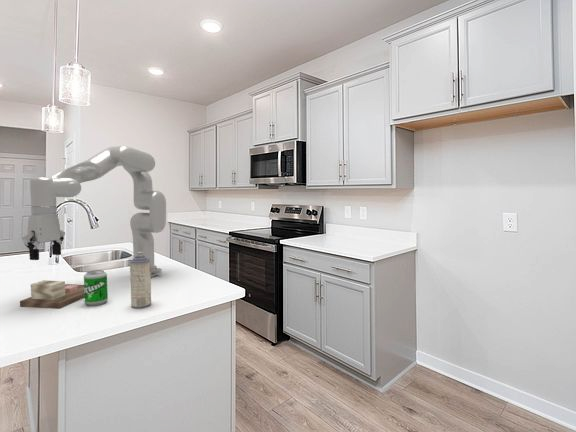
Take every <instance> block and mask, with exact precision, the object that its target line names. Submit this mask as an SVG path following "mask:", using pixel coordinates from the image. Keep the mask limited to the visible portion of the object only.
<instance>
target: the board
mask: <svg viewBox="0 0 576 432" xmlns="http://www.w3.org/2000/svg"><path fill="white" fill-rule="evenodd" d="M68 285H75V286H78V289H77V290H74V291H72V292H65V295H66V297H64V298H61V299H59V300H56V301H34V300H31V296H30V297H28V298H24V299H22V300H20V301H19V306H20V307H22V308H23V307H24V308H25V307H26V308H43V309H63V308H64V307H67V306H69V305H72V304H73V303H75V302H78V301H79V300H83V299H85V293H84V284H77V283H76V284H73V283H67V284H66V283H65V286H68Z"/></svg>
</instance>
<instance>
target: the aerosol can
mask: <svg viewBox="0 0 576 432" xmlns="http://www.w3.org/2000/svg"><path fill="white" fill-rule="evenodd" d="M129 270H130V271H129V273H130V274H129V275H130V277H129V278H130V301H131V302H130V307H131V309H136V310H137V309H145V308H149V307H150V306H151V305H152V283H151V282H152V279H151V278H152V277H151V276H150V260H149V259H147V257H145V256H144V255H143V254H142V252H137V255H136V256H135V257H134V256H133V258H132V259H131V260H130V262H129Z"/></svg>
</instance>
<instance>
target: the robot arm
mask: <svg viewBox="0 0 576 432" xmlns="http://www.w3.org/2000/svg"><path fill="white" fill-rule="evenodd" d="M121 166H122V168H123V169H124V170H125V171H126V172H127V173H128V174H129V175H130V177H131V178H132V182H133V183H132V184H133V206H134V207H135V208H136V209H138V210H142V211H143V210H144V211H149V212H137V213H135V214H133V215H132V216H131V217H130V219H129V222H130V224H129V225H130V230H131V234H132V248H133V250H132V253H133V258H134V257H135V256H136V255H137V252H142V254H143V255H144V256H145V257H147V259H149V260H150V276H151V278H153V277H157V276H158V275H159V274H161V273H162V268H157V267H158V266H157V265H155V239H154V235H153V234H157V233H161V232H163V231H164V229H165V227H166V224H167V199H166V197H165V195H164V193H162V192H161V191H160V190H159V191H158V190H153V189H154V188H153V180H152V176H151V174H150V172H152V171H153V170H154V168H155V166H156V161H155V158H154V157H153V156H152V155H151V154H150V153H148V152H144V151H142V150H140V149H136V148H133V147H131V146H126V145H122V146H121V145H120V146H117V145H116V146H110V147H107V148H105V149H103V150H101V151H100V152H97V153H96V154H95V155H93V156H91V157H89V158H88V159H87V160H84V161H81V162H79V163H77V164H75V165H72V166H70V167H67V168H65V169H62V170H61V171H58V172H57V173H56V174H54V175H52V176H51V177H45V176H43V177H42V176H41V177H39V176H35V177H31V178H30V180H29V191H30V192H29V193H30V213H31V215H29V217H28V219H27V220H28V221H27V228H26V229H27V232H26V235H25V236H23V237H21V240H22V242H23V243H24V246H26V247H27V249H28V250H29V251H28V252H29V254H28V255H29V260H30V261H38V260H40V249H39V246H40V245H41V244H43V243H48V242H52V243H51V244H52V245H51V250H52V251H51V253H52V255H53V256H61V255H62V244H63V241H64V240H65V234H66V232H65V231H64V230H61V223H60V219H59V216H58V213H57V212H58V208H57V198H74V197H76V196H78V195H79V194H81V192H82V183H86V182H91V181H95V180H98V179H101V178H102V177H104V176H105V175H106V174H108V173H110V171H113V170H114V169H116V168H117V167H121Z"/></svg>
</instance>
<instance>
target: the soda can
mask: <svg viewBox="0 0 576 432" xmlns="http://www.w3.org/2000/svg"><path fill="white" fill-rule="evenodd" d="M83 285H84V293H85V298H84V303H85V304H87V306H90V307H94V306H95V307H96V306H100V305H103V304H105V303H106V302H107V301H108V299H109V297H108V295H109V294H108V274H107V271H106V272H105V270H103V269H102V270H101V269H97V270H96V269H95V270H90V271H87V272H86V273H85V274H84V275H83Z"/></svg>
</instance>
